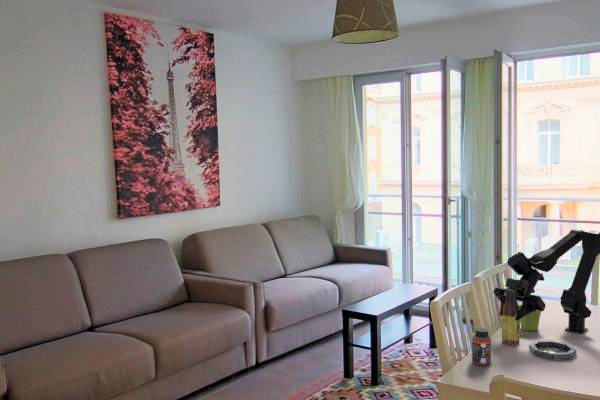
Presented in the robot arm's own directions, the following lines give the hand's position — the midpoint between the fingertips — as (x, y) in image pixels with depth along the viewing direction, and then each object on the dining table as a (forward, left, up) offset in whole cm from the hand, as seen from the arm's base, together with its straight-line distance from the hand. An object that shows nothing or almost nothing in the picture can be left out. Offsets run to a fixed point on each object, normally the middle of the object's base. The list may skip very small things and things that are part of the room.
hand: (508, 317), depth 209 cm
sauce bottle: (-1, 0, -10) cm, 10 cm away
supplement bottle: (+24, +2, -10) cm, 26 cm away
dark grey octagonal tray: (-1, +15, -10) cm, 18 cm away
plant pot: (-21, -2, -10) cm, 24 cm away
